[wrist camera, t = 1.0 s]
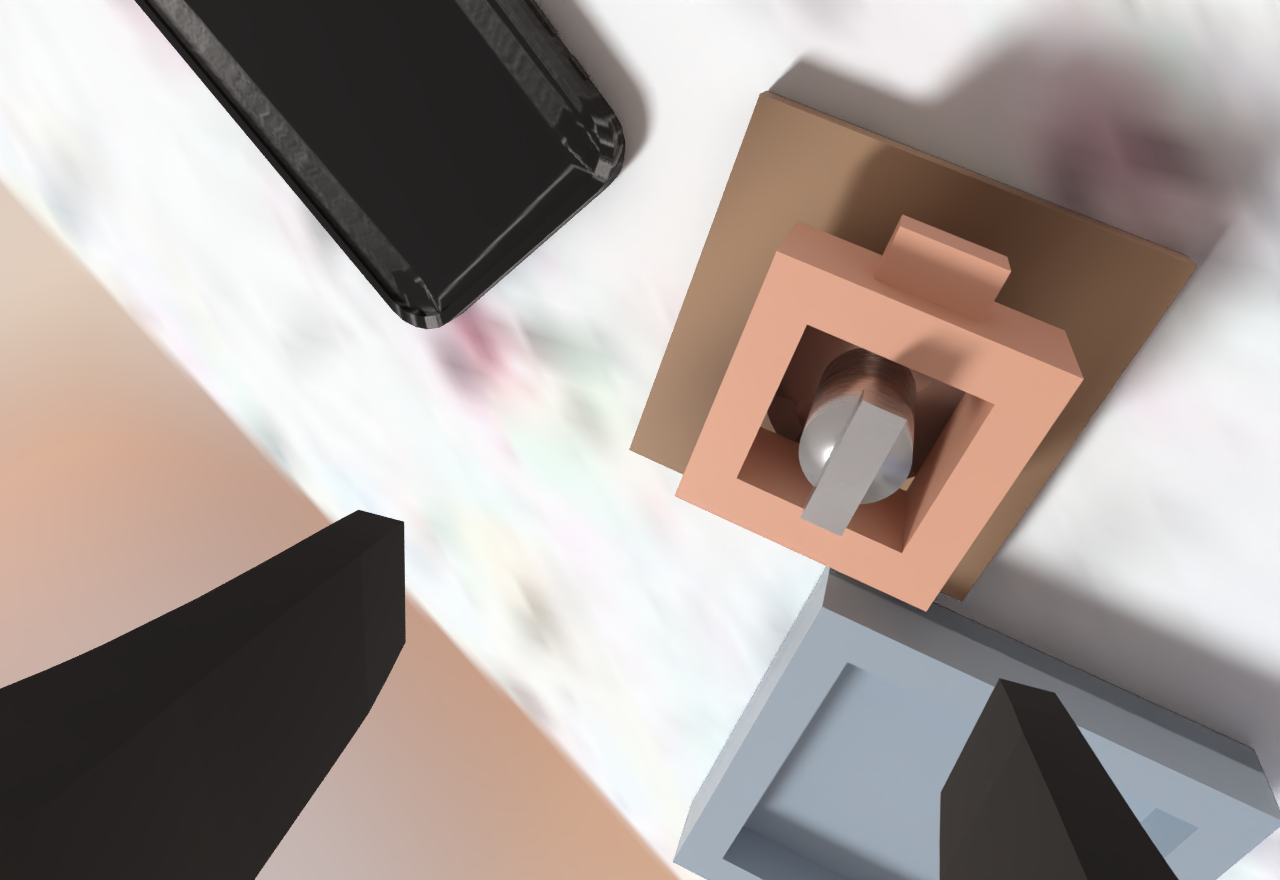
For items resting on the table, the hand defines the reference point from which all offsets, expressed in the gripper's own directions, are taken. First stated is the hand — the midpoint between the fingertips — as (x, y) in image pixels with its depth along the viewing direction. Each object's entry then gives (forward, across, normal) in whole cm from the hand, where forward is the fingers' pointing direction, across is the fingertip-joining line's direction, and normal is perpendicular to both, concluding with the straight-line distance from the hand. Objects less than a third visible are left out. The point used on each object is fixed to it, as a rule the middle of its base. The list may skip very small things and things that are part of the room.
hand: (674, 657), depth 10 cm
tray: (+10, -8, +12) cm, 18 cm away
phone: (+13, +12, -5) cm, 18 cm away
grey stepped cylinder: (+11, -3, 0) cm, 12 cm away
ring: (+9, -2, 0) cm, 10 cm away
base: (+11, -3, 0) cm, 12 cm away
